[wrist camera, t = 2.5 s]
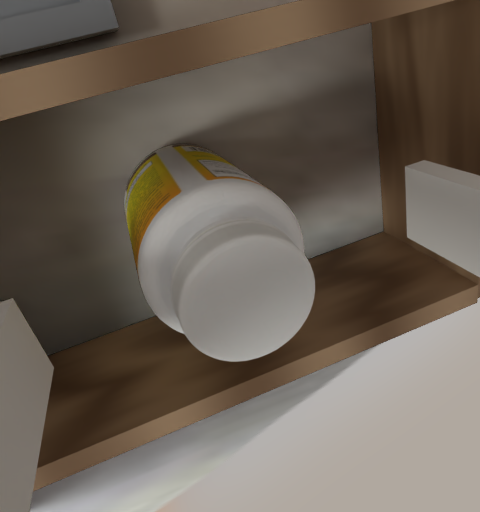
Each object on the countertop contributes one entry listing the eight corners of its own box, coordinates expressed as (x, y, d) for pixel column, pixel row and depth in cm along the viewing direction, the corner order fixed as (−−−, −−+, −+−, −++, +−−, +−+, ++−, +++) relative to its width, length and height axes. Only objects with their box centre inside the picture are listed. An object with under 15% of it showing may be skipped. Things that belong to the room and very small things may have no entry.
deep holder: (-2, 392, 21) (-43, 523, 15) (-189, 129, 15) (-395, 171, 8) (398, 240, 25) (494, 295, 19) (388, -15, 19) (527, -56, 13)
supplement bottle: (143, 266, 21) (178, 413, 12) (106, 159, 18) (113, 244, 9) (246, 233, 22) (348, 346, 13) (224, 128, 19) (333, 178, 10)
